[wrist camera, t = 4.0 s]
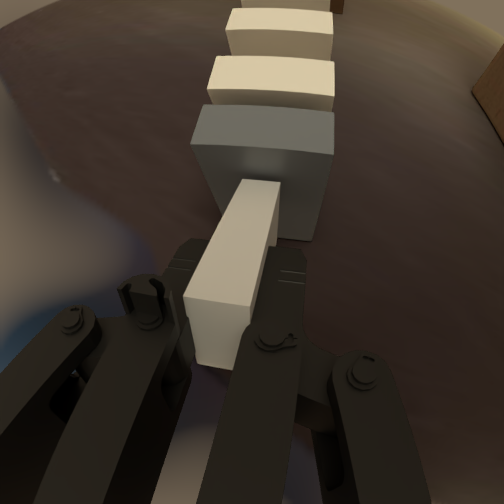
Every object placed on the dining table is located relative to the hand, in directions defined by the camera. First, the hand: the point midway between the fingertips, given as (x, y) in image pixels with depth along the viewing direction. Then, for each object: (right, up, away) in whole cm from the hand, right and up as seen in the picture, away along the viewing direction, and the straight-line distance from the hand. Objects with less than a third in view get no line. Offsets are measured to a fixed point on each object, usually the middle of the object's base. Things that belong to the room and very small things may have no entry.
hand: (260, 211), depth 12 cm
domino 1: (+1, 0, +6) cm, 6 cm away
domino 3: (+2, +8, +8) cm, 11 cm away
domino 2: (+2, +4, +7) cm, 8 cm away
